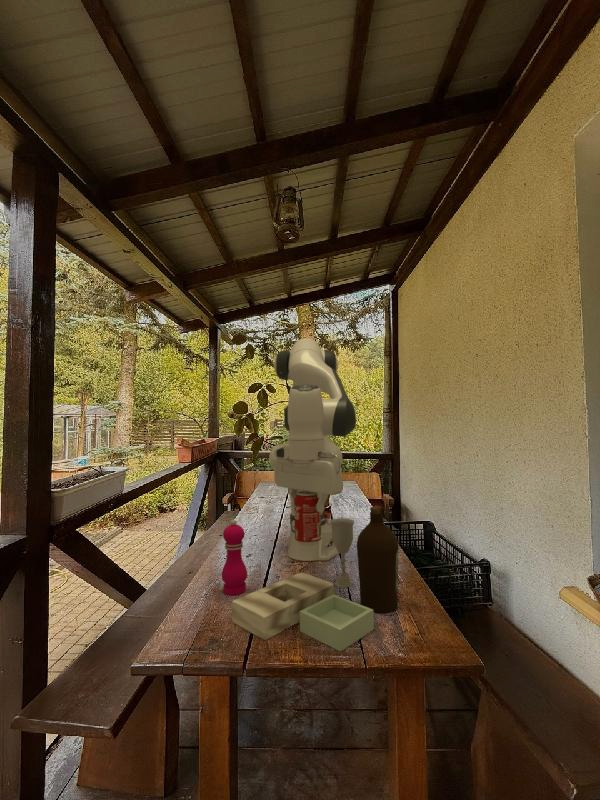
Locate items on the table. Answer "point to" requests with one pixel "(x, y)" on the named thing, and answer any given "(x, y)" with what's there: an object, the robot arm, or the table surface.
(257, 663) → the table surface
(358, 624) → the shallow square tray
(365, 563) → the olive oil
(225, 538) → the pepper mill
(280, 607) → the socket beam
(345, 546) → the chalice
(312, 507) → the beverage can
